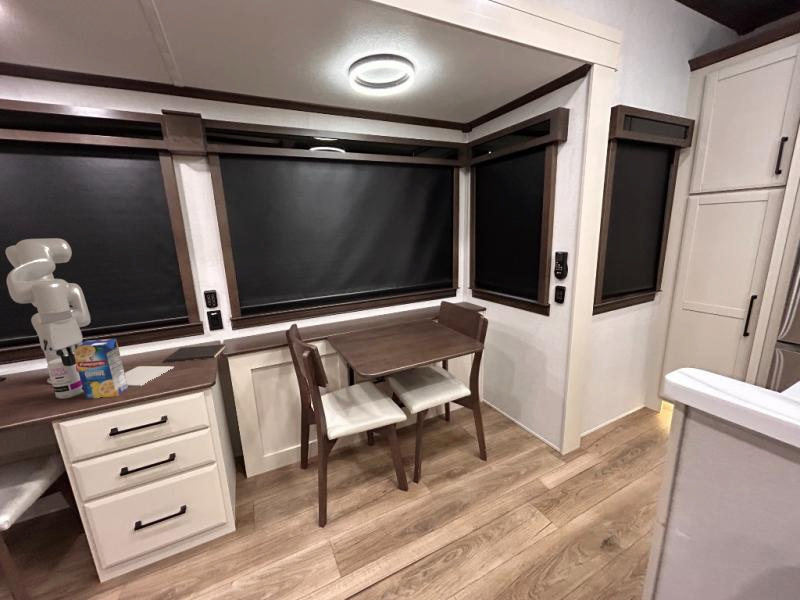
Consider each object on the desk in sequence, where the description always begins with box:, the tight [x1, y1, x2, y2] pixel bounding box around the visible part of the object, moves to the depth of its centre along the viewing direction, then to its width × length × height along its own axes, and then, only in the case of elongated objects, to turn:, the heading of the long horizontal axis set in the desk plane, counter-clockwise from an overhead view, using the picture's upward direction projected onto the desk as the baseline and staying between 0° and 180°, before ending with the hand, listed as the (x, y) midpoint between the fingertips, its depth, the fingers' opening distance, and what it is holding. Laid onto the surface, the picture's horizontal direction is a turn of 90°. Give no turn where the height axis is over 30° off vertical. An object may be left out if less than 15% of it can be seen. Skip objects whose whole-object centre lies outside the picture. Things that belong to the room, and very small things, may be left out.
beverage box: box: [74, 338, 129, 400], centre depth 125 cm, size 7×11×22 cm, turn 100°
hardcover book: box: [164, 343, 226, 363], centre depth 165 cm, size 16×23×2 cm
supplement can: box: [46, 358, 84, 400], centre depth 125 cm, size 8×8×15 cm
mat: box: [125, 365, 175, 387], centre depth 142 cm, size 18×18×1 cm
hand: (70, 364), depth 113 cm, fingers closed
